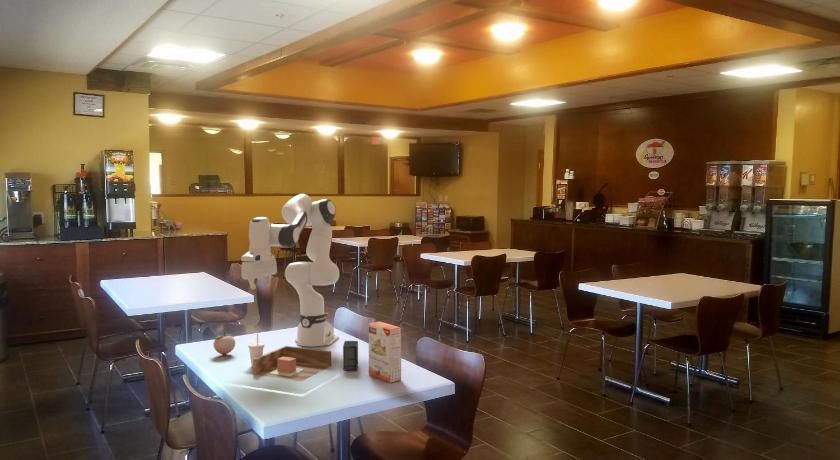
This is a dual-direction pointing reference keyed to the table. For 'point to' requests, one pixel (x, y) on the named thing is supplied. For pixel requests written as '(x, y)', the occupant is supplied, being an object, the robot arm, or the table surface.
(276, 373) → the pad
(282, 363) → the block
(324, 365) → the arena
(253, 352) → the smoothie
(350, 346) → the box
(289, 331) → the table surface
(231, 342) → the decorative fruit
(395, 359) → the cracker box
